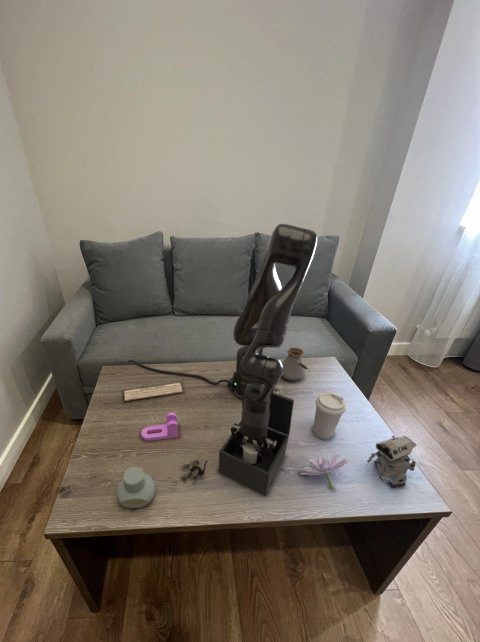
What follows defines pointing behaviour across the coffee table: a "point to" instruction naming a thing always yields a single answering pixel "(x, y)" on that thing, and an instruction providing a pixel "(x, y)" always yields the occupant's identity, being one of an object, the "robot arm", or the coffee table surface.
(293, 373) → the coffee pot
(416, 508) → the coffee table surface
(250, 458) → the coffee pod
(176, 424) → the bracket
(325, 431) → the coffee cup
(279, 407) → the lid
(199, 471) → the creature
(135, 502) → the air freshener
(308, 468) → the water lily
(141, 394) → the wooden plank
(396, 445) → the figurine
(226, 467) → the open lidded box
